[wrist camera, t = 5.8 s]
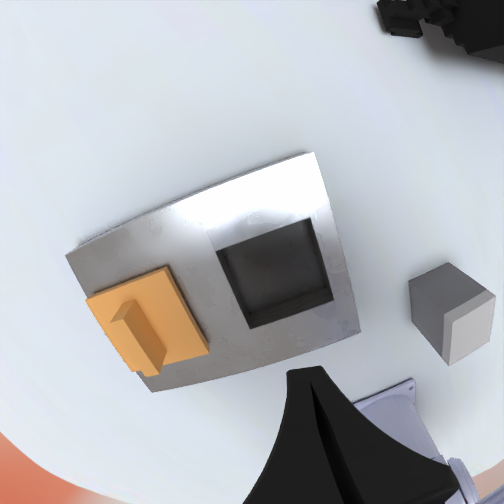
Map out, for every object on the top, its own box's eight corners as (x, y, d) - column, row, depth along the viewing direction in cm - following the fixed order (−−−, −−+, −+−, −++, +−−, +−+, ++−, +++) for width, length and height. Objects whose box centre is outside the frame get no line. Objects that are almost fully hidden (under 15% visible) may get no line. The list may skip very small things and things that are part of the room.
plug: (449, 302, 21) (489, 340, 15) (411, 321, 21) (448, 366, 15) (448, 262, 19) (495, 295, 14) (408, 280, 20) (452, 322, 14)
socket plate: (351, 317, 20) (360, 332, 18) (157, 375, 22) (151, 392, 20) (305, 151, 16) (313, 152, 14) (79, 245, 18) (64, 255, 16)
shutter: (210, 347, 18) (205, 377, 15) (134, 366, 18) (123, 393, 16) (166, 266, 16) (153, 288, 13) (89, 296, 17) (69, 318, 14)
